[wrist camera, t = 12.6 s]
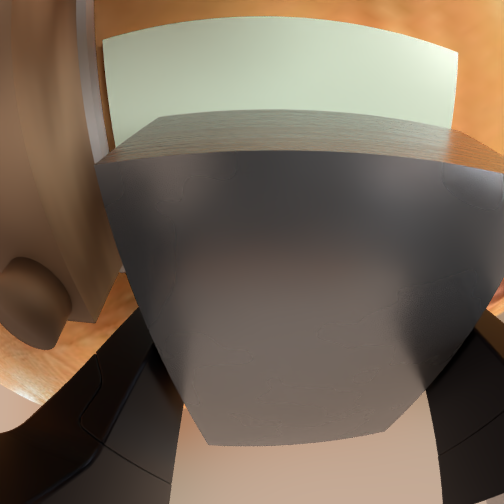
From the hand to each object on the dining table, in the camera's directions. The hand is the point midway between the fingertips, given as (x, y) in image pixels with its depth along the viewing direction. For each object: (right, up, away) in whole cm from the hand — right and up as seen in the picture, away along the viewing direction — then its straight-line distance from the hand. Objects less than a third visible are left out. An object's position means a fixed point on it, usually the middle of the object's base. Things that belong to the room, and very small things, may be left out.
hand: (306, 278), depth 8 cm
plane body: (-9, +9, -1) cm, 13 cm away
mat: (0, +2, +3) cm, 4 cm away
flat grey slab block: (0, 0, -1) cm, 1 cm away
